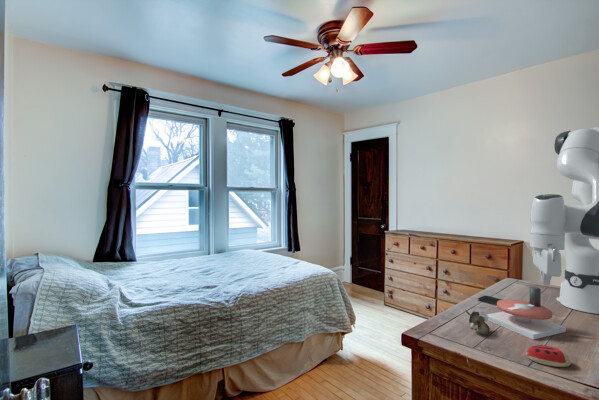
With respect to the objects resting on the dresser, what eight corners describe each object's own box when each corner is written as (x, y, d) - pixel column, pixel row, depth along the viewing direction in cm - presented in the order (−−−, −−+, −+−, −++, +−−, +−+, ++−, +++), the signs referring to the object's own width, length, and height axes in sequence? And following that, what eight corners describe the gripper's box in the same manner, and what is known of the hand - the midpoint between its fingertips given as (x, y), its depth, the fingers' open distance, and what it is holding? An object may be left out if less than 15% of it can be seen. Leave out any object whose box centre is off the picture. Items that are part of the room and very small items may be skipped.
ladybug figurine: (578, 370, 73) (578, 356, 73) (534, 366, 74) (534, 353, 74) (559, 356, 80) (559, 343, 80) (519, 353, 81) (519, 340, 81)
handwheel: (532, 323, 89) (532, 299, 89) (486, 306, 103) (487, 285, 103) (563, 316, 94) (563, 294, 94) (515, 301, 108) (515, 281, 108)
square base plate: (515, 313, 109) (515, 301, 109) (565, 331, 94) (566, 318, 94) (484, 319, 104) (484, 306, 104) (533, 339, 89) (533, 324, 89)
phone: (485, 295, 128) (526, 305, 115) (485, 297, 128) (526, 308, 115) (476, 298, 123) (518, 309, 111) (476, 301, 123) (518, 312, 111)
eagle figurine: (458, 319, 101) (462, 324, 93) (470, 302, 101) (476, 306, 92) (479, 334, 98) (486, 341, 90) (492, 318, 98) (500, 323, 89)
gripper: (568, 247, 85) (567, 294, 85) (551, 240, 103) (550, 279, 103) (541, 245, 88) (540, 290, 88) (529, 238, 106) (528, 276, 106)
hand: (545, 284), depth 96 cm, fingers closed
